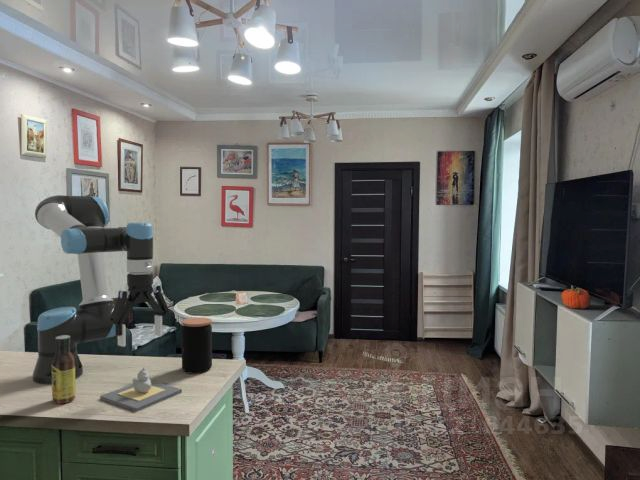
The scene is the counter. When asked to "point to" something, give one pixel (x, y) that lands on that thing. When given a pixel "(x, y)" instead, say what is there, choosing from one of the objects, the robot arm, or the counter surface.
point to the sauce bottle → (63, 372)
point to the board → (140, 396)
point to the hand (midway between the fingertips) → (140, 340)
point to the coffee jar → (196, 345)
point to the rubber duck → (142, 382)
